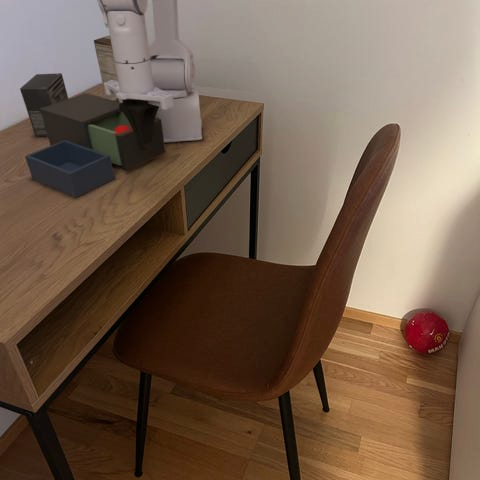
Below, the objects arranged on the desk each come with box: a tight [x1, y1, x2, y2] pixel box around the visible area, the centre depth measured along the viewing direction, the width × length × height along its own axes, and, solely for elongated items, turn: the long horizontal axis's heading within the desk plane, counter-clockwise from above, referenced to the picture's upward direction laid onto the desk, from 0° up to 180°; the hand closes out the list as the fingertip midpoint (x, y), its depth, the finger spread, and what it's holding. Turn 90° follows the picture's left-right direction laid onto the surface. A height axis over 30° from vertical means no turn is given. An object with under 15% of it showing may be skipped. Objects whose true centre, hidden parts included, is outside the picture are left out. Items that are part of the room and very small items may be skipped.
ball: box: [114, 125, 132, 134], centre depth 94 cm, size 5×5×5 cm
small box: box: [19, 72, 69, 137], centre depth 107 cm, size 11×6×10 cm, turn 178°
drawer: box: [86, 111, 166, 172], centre depth 94 cm, size 14×11×7 cm
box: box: [24, 140, 115, 199], centre depth 89 cm, size 13×9×5 cm
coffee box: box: [93, 35, 124, 103], centre depth 113 cm, size 9×6×16 cm
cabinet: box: [40, 92, 121, 149], centre depth 99 cm, size 13×12×8 cm
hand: (145, 142), depth 86 cm, fingers closed
